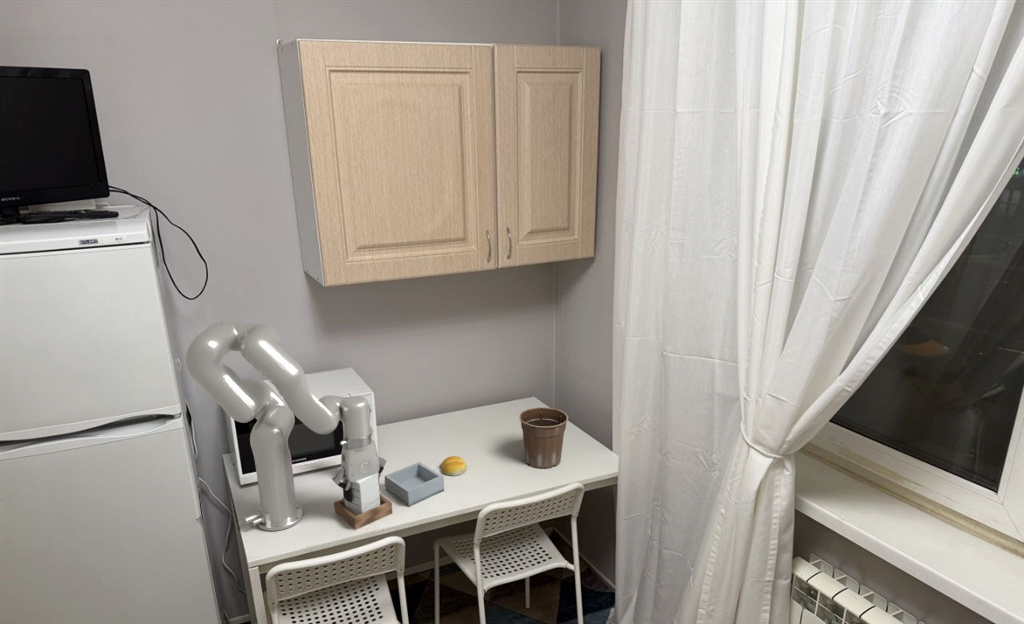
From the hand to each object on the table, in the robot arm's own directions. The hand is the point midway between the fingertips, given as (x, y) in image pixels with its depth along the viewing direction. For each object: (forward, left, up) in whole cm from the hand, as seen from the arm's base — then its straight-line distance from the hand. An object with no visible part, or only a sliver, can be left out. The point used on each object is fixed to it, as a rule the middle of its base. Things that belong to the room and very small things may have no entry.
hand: (362, 494), depth 185 cm
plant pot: (+61, -14, -6) cm, 63 cm away
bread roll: (+35, +2, -7) cm, 36 cm away
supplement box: (0, 0, -6) cm, 6 cm away
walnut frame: (0, 0, -6) cm, 6 cm away
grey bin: (+18, 0, -6) cm, 19 cm away
